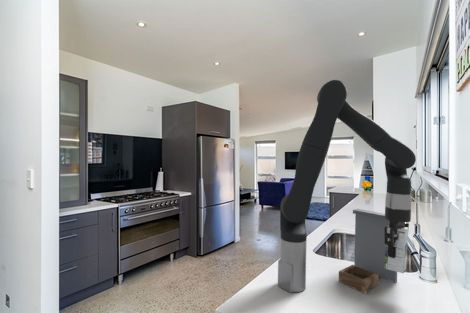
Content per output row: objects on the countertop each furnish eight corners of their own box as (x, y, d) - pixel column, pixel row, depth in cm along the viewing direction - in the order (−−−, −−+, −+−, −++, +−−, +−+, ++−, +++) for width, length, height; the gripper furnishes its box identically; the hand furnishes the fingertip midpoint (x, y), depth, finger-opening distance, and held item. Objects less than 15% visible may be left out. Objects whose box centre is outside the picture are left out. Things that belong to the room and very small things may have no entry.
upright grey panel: (392, 284, 97) (394, 217, 97) (351, 268, 110) (352, 209, 109) (397, 281, 99) (398, 216, 99) (356, 266, 112) (357, 208, 112)
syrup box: (387, 263, 93) (388, 223, 93) (406, 268, 89) (408, 226, 89) (384, 268, 88) (385, 226, 88) (404, 274, 85) (406, 230, 85)
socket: (365, 293, 90) (365, 281, 90) (338, 281, 98) (338, 271, 98) (378, 284, 96) (378, 274, 96) (352, 274, 104) (352, 264, 104)
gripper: (394, 202, 96) (393, 247, 96) (376, 206, 87) (374, 255, 87) (418, 206, 90) (416, 254, 90) (401, 210, 81) (399, 263, 81)
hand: (395, 254), depth 89 cm, fingers closed on syrup box, 6 cm apart
